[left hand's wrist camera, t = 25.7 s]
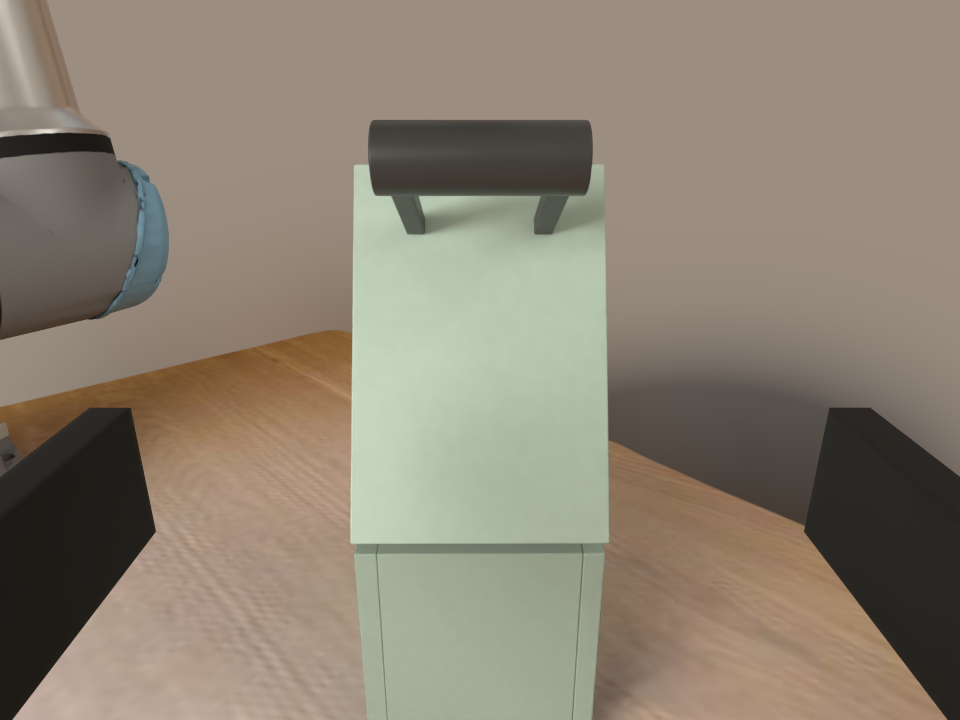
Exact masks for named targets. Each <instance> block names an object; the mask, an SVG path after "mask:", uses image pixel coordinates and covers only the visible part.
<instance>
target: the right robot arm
mask: <svg viewBox="0 0 960 720" xmlns="http://www.w3.org/2000/svg"><path fill="white" fill-rule="evenodd" d="M168 250H169V234H168V224H167V218H166V213H165V209H164V206H163V202H162V200H161V197H160V195H159V192H158V190H157V188H156V187H155V185H154V184H152V183H150V181H149V176H148V175H147V174H146V173H145V172H144V171H143V170H142V169H141V168H139V167H138V166H136V165H132V164H129V163H128V162H125V161H121V160H119V161H117V160H116V156H115V153H114V150H113V147H112V143H111V140H110V136H109V134H108V133H107V132H105V131H104V130H102V129H101V128H99V127H98V126H96V125H95V124H93V123H92V122H90V121H89V120H87V119H86V118H85V117H84V116H83V115H82V114H81V113H80V111H79V107H78V104H77V101H76V97H75V94H74V91H73V87H72V84H71V81H70V77H69V74H68V71H67V67H66V64H65V61H64V57H63V54H62V51H61V47H60V44H59V41H58V37H57V34H56V31H55V27H54V24H53V20H52V17H51V14H50V10H49V7H48V4H47V0H0V340H2V339H6V338H10V337H14V336H19V335H23V334H27V333H31V332H35V331H40V330H44V329H48V328H52V327H56V326H61V325H65V324H69V323H73V322H77V321H82V320H86V319H90V320H92V319H100V318H103V317H105V316H107V315H109V314H110V313H113V312H116V311H119V310H123V309H126V308H130V307H133V306H136V305H138V304H140V303H142V302H144V301H145V300H147V299H148V298H149V297H150V296H151V295H152V294H153V293H154V292H155V291H156V289H157V288H158V286H159V283H160V282H161V279H162V274H163V273H164V271H165V269H166V265H167V259H168ZM8 435H9V432H8V429H7V425H6V422H3V423H1V424H0V477H1V476H2V475H3V474H5V473H6V472H7V471H8V470H10V469H11V468H12V467H14V466H15V465H16V464H18V463H19V462H20V461H21V460H23V457H22V454H21V453H20V451H19V450H18V449H17V448H16V446H15V445H14V444H13V443H12V441H11V440H10V439H9V437H8Z"/></svg>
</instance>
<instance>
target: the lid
mask: <svg viewBox="0 0 960 720" xmlns="http://www.w3.org/2000/svg"><path fill="white" fill-rule="evenodd" d="M592 155H593V141H592V130H591V125H590V122H589V121H588V120H373V121H372V122H371V124H370V128H369V138H368V157H369V165H355V166H354V228H353V326H352V424H351V521H350V543H351V544H587V543H609V542H610V529H609V454H608V378H607V305H606V228H605V166H604V165H592Z"/></svg>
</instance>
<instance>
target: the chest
mask: <svg viewBox="0 0 960 720" xmlns="http://www.w3.org/2000/svg"><path fill="white" fill-rule="evenodd" d="M605 555H606V554H605V550H604V547H603V543H587V544H357V546H356V549H355V553H354V560H355V573H356V585H357V598H358V610H359V623H360V635H361V648H362V660H363V672H364V685H365V697H366V710H367V720H592V717H593V705H594V692H595V680H596V668H597V655H598V643H599V630H600V618H601V605H602V593H603V580H604V568H605Z"/></svg>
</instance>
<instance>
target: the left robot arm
mask: <svg viewBox="0 0 960 720" xmlns="http://www.w3.org/2000/svg"><path fill="white" fill-rule="evenodd" d="M155 532H156V530H155V525H154V520H153V515H152V510H151V505H150V500H149V496H148V491H147V486H146V481H145V476H144V471H143V466H142V461H141V456H140V452H139V447H138V442H137V437H136V432H135V427H134V422H133V417H132V413H131V408H89V409H88V410H86V411H85V412H84V413H82V414H81V415H80V416H79V417H77V418H76V419H75V420H73V421H72V422H71V423H69V424H68V425H67V426H66V427H64V428H63V429H62V430H60V431H59V432H58V433H56V434H55V435H54V436H53V437H51V438H50V439H49V440H47V441H46V442H45V443H43V444H42V445H41V446H40V447H38V448H37V449H36V450H34V451H33V452H32V453H31V454H29V455H28V456H27V457H25V458H24V459H23V460H21V461H20V462H19V463H18V464H16V465H15V466H14V467H12V468H11V469H10V470H8V471H7V472H6V473H5V474H3V475H2V476H1V477H0V720H13V718H14V717H15V716H16V714H17V713H18V712H19V710H20V709H21V708H22V706H23V705H24V704H25V702H26V701H27V700H28V699H29V697H30V696H31V695H32V693H33V692H34V691H35V689H36V688H37V687H38V685H39V684H40V683H41V682H42V680H43V679H44V678H45V676H46V675H47V674H48V672H49V671H50V670H51V668H52V667H53V666H54V664H55V663H56V662H57V661H58V659H59V658H60V657H61V655H62V654H63V653H64V651H65V650H66V649H67V647H68V646H69V645H70V644H71V642H72V641H73V640H74V638H75V637H76V636H77V634H78V633H79V632H80V630H81V629H82V628H83V627H84V625H85V624H86V623H87V621H88V620H89V619H90V617H91V616H92V615H93V613H94V612H95V611H96V609H97V608H98V607H99V606H100V604H101V603H102V602H103V600H104V599H105V598H106V596H107V595H108V594H109V592H110V591H111V590H112V589H113V587H114V586H115V585H116V583H117V582H118V581H119V579H120V578H121V577H122V575H123V574H124V573H125V571H126V570H127V569H128V568H129V566H130V565H131V564H132V562H133V561H134V560H135V558H136V557H137V556H138V554H139V553H140V552H141V551H142V549H143V548H144V547H145V545H146V544H147V543H148V541H149V540H150V539H151V537H152V536H153V535H154V534H155ZM804 532H805V534H806V535H807V536H808V537H809V539H810V540H811V541H812V543H813V544H814V545H815V547H816V548H817V549H818V551H819V552H820V553H821V554H822V556H823V557H824V558H825V560H826V561H827V562H828V564H829V565H830V566H831V568H832V569H833V570H834V571H835V573H836V574H837V575H838V577H839V578H840V579H841V581H842V582H843V583H844V585H845V586H846V587H847V589H848V590H849V591H850V592H851V594H852V595H853V596H854V598H855V599H856V600H857V602H858V603H859V604H860V606H861V607H862V608H863V609H864V611H865V612H866V613H867V615H868V616H869V617H870V619H871V620H872V621H873V623H874V624H875V625H876V627H877V628H878V629H879V630H880V632H881V633H882V634H883V636H884V637H885V638H886V640H887V641H888V642H889V644H890V645H891V646H892V647H893V649H894V650H895V651H896V653H897V654H898V655H899V657H900V658H901V659H902V661H903V662H904V663H905V664H906V666H907V667H908V668H909V670H910V671H911V672H912V674H913V675H914V676H915V678H916V679H917V680H918V682H919V683H920V684H921V685H922V687H923V688H924V689H925V691H926V692H927V693H928V695H929V696H930V697H931V699H932V700H933V701H934V702H935V704H936V705H937V706H938V708H939V709H940V710H941V712H942V713H943V714H944V716H945V717H946V718H947V720H960V477H959V476H958V475H957V474H955V473H954V472H953V471H951V470H950V469H949V468H948V467H946V466H945V465H944V464H942V463H941V462H940V461H939V460H937V459H936V458H935V457H933V456H932V455H931V454H929V453H928V452H927V451H926V450H924V449H923V448H922V447H920V446H919V445H918V444H917V443H915V442H914V441H913V440H911V439H910V438H909V437H907V436H906V435H905V434H904V433H902V432H901V431H900V430H898V429H897V428H896V427H894V426H893V425H892V424H891V423H889V422H888V421H887V420H885V419H884V418H883V417H881V416H880V415H879V414H878V413H876V412H875V411H874V410H872V409H871V408H829V413H828V417H827V422H826V427H825V432H824V437H823V442H822V447H821V452H820V456H819V461H818V466H817V471H816V476H815V481H814V486H813V491H812V496H811V500H810V505H809V510H808V515H807V520H806V525H805V530H804Z"/></svg>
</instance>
